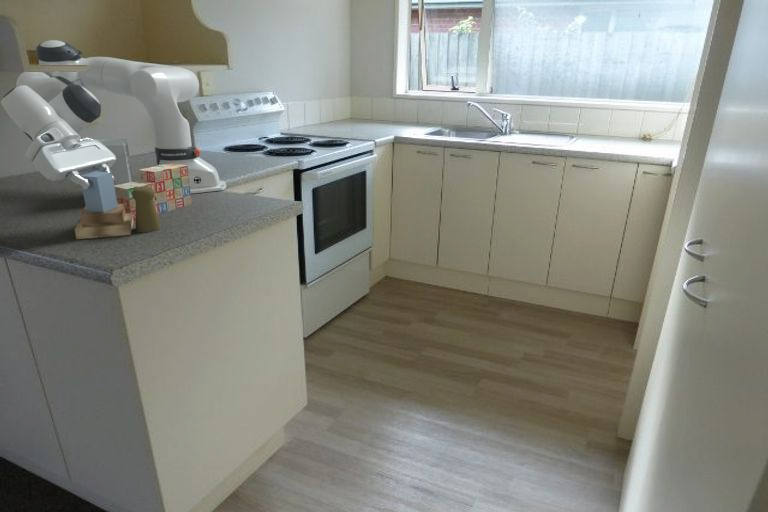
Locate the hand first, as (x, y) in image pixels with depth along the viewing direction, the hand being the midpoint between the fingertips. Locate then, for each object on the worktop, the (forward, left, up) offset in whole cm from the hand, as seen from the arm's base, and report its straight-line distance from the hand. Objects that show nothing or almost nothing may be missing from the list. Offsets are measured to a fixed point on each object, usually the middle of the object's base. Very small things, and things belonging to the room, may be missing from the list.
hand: (100, 184), depth 130 cm
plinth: (+1, 0, -12) cm, 12 cm away
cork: (-9, +2, -12) cm, 16 cm away
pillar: (+1, 0, -6) cm, 7 cm away
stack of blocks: (-11, -16, -12) cm, 23 cm away
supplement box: (+3, -35, -12) cm, 38 cm away
